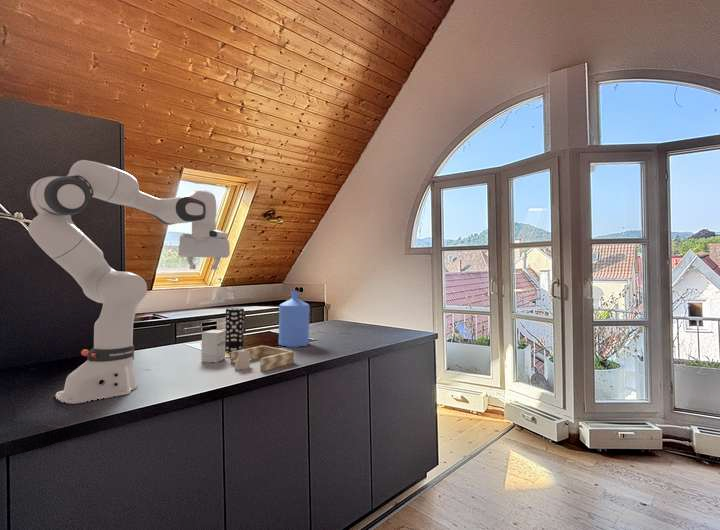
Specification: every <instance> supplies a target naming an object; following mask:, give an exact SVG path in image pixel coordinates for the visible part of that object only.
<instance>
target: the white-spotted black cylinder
mask: <svg viewBox="0 0 720 530" xmlns="http://www.w3.org/2000/svg"><path fill="white" fill-rule="evenodd" d="M244 323H245V309H244V308H242V307H235V308H234V307H231V308H230V307H229V308H226V309H225V331H226V336H225V353H228V352H233V351H238V350H243V349H244V334H245V333H244V331H245V329H244V328H245V327H244V326H245V325H244Z"/></svg>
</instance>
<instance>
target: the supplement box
mask: <svg viewBox="0 0 720 530" xmlns="http://www.w3.org/2000/svg"><path fill="white" fill-rule="evenodd" d="M225 336H226V330H217V329H210V330H207V331H206V330H205V331H203V332H201V356H200V358H201V359H200V361H201V363H211V362H215V364H217V363H218V362H221V361H223V359H224V360H225V359H226V352H225Z"/></svg>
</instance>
